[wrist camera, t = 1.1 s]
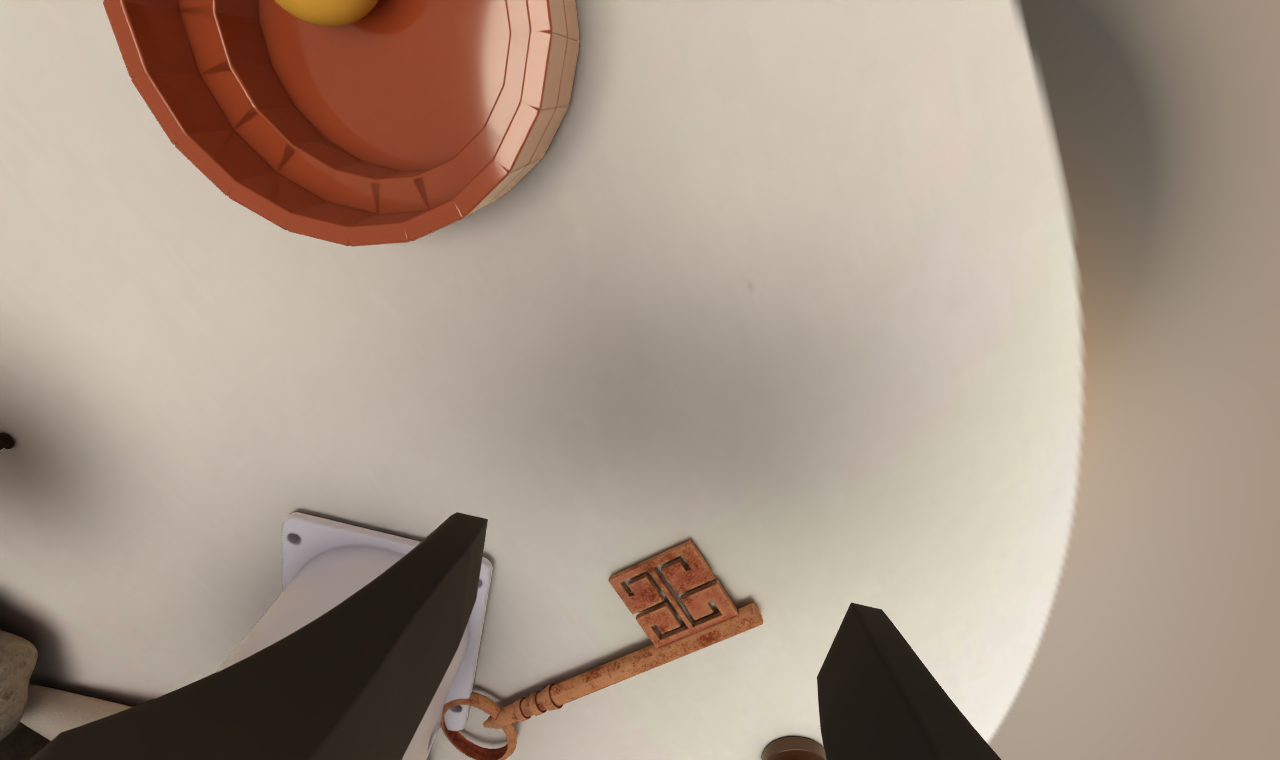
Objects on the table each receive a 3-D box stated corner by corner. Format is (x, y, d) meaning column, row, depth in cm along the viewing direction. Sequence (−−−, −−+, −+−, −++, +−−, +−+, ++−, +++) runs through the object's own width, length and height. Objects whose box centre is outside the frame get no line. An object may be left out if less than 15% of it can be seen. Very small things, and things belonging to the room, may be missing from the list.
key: (706, 527, 24) (401, 667, 28) (705, 541, 23) (391, 683, 27) (782, 643, 25) (480, 761, 30) (784, 661, 25) (472, 779, 29)
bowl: (547, 250, 20) (513, 287, 17) (226, 171, 20) (120, 190, 16) (615, -148, 16) (589, -216, 12) (210, -252, 16) (63, -351, 12)
